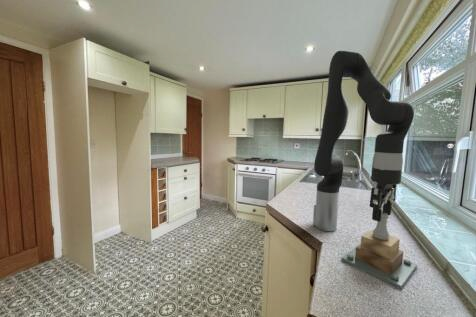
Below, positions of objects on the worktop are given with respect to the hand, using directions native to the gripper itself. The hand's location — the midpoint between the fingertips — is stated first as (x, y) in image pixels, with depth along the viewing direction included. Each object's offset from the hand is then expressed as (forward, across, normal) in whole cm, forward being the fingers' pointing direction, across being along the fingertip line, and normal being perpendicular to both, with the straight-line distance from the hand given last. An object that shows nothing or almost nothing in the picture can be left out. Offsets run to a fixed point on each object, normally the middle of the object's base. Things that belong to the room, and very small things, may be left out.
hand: (381, 217), depth 64 cm
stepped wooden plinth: (+16, 0, 0) cm, 16 cm away
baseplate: (+16, 0, 0) cm, 16 cm away
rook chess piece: (+7, 0, 0) cm, 7 cm away
